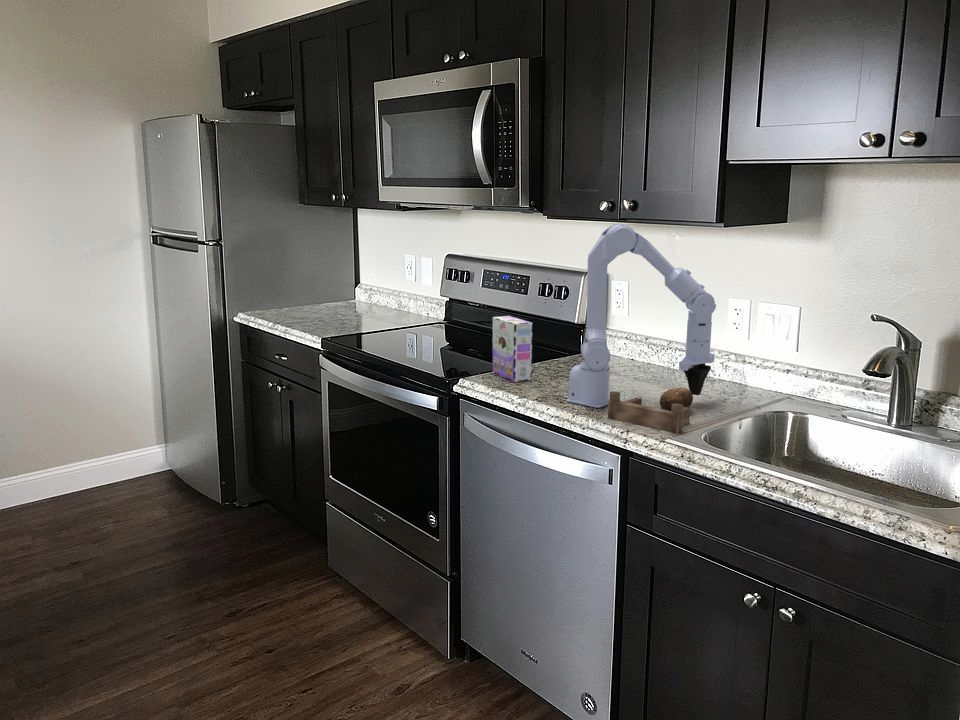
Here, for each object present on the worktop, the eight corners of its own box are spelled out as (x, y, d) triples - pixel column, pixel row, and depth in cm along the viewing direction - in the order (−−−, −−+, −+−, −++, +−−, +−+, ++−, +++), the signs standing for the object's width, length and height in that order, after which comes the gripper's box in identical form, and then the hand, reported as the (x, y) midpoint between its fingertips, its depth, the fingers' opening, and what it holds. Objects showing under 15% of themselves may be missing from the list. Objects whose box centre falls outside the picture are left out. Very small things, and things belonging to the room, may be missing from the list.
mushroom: (690, 393, 203) (682, 376, 199) (702, 413, 196) (694, 396, 193) (660, 408, 204) (652, 390, 201) (671, 428, 198) (662, 411, 194)
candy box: (532, 381, 229) (533, 321, 225) (513, 383, 226) (514, 323, 223) (509, 371, 241) (510, 314, 238) (491, 372, 238) (491, 316, 235)
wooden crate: (606, 417, 193) (607, 392, 192) (627, 409, 200) (628, 385, 199) (678, 433, 181) (679, 406, 180) (698, 424, 188) (699, 399, 187)
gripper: (699, 346, 195) (696, 402, 197) (727, 338, 205) (723, 391, 208) (672, 342, 199) (669, 397, 202) (700, 334, 210) (697, 387, 213)
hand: (695, 394), depth 205 cm, fingers closed
